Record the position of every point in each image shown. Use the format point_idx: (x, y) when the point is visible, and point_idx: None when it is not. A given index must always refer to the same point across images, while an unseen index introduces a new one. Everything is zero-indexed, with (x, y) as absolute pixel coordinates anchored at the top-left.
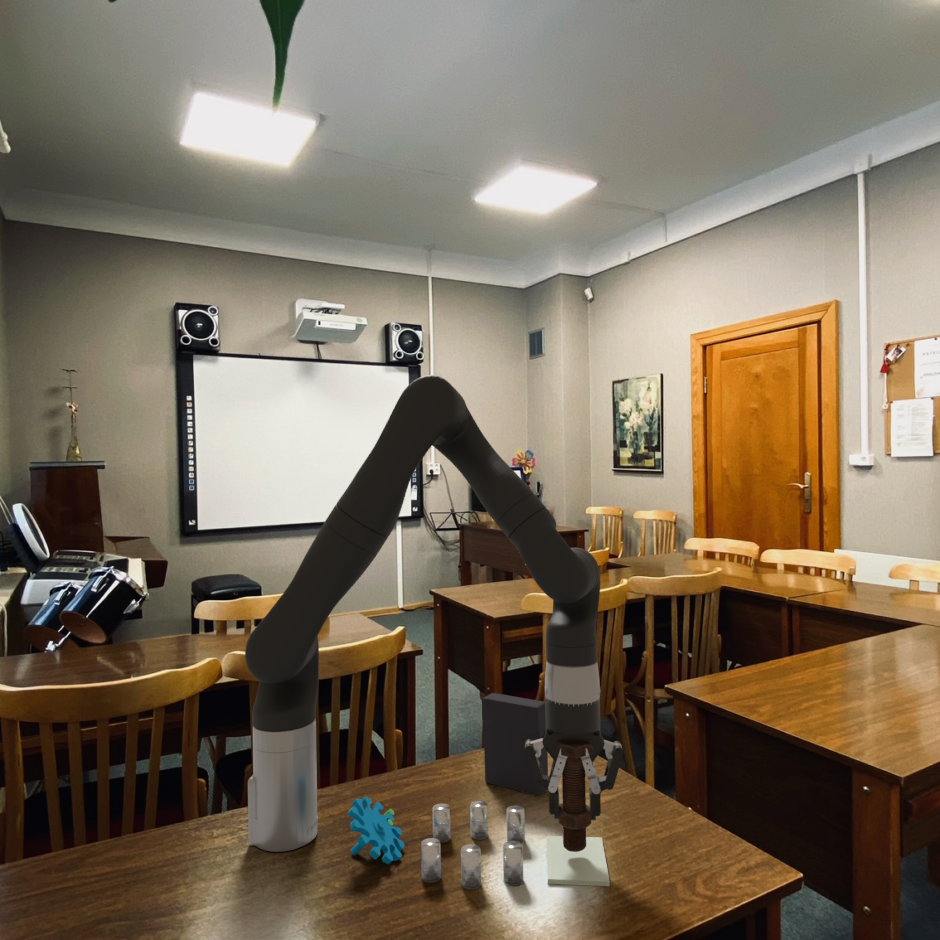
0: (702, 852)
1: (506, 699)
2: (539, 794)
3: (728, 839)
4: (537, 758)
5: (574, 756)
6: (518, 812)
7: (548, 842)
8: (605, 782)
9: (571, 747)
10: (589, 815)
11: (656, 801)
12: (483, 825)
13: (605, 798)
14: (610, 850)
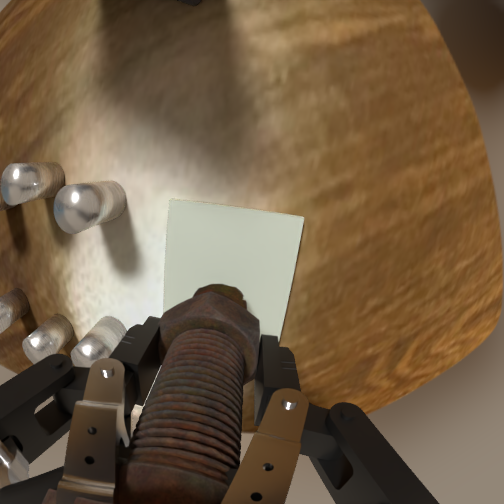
0: (458, 272)
1: None
2: (192, 4)
3: (499, 236)
4: (20, 436)
5: None
6: (76, 226)
7: (170, 230)
8: (312, 462)
9: None
10: (249, 381)
11: (448, 75)
12: (41, 196)
13: (353, 28)
14: (311, 253)
